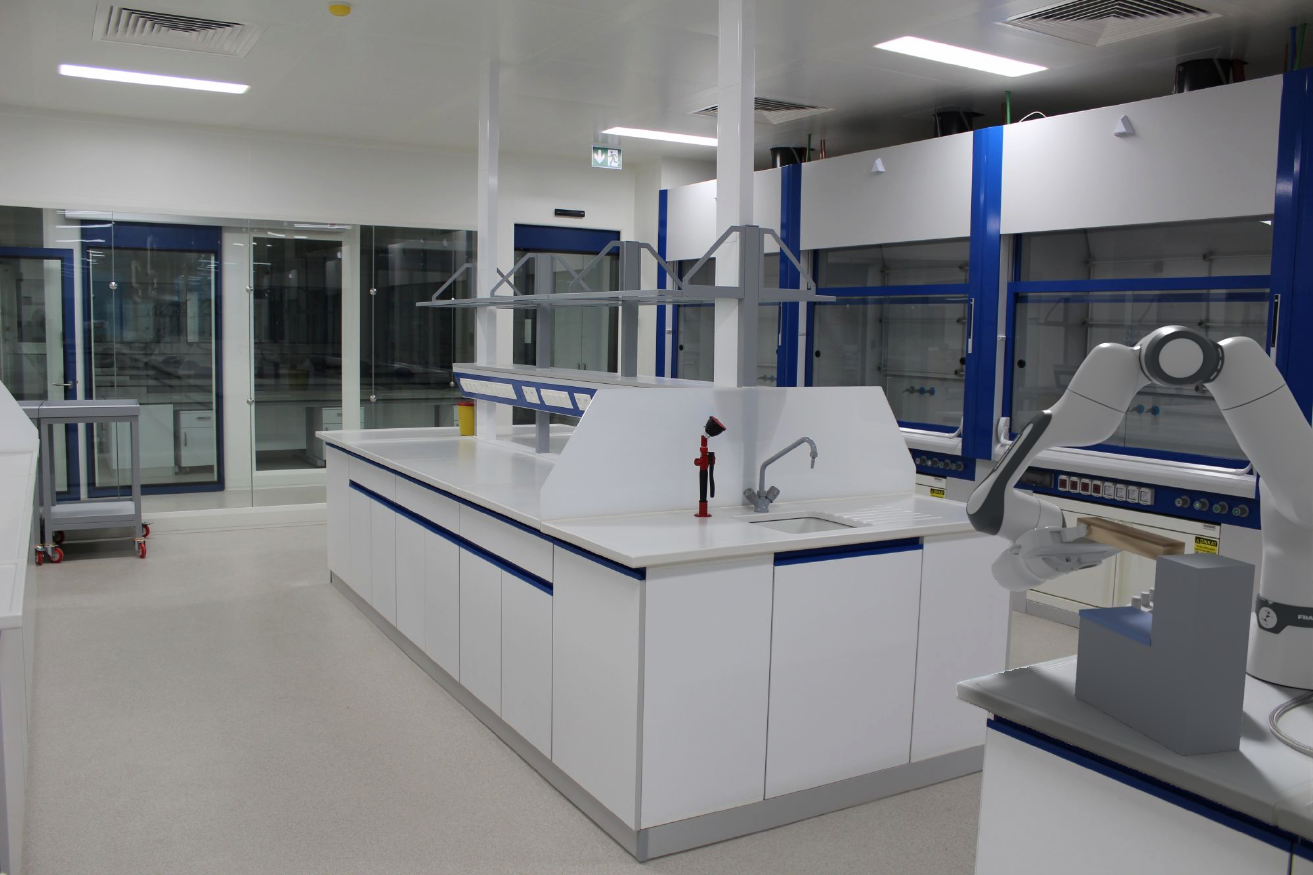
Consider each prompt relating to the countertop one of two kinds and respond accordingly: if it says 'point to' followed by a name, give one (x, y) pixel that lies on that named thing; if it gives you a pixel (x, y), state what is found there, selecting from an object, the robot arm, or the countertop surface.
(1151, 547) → the slide box
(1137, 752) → the countertop surface
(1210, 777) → the countertop surface
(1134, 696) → the l-shaped step block
